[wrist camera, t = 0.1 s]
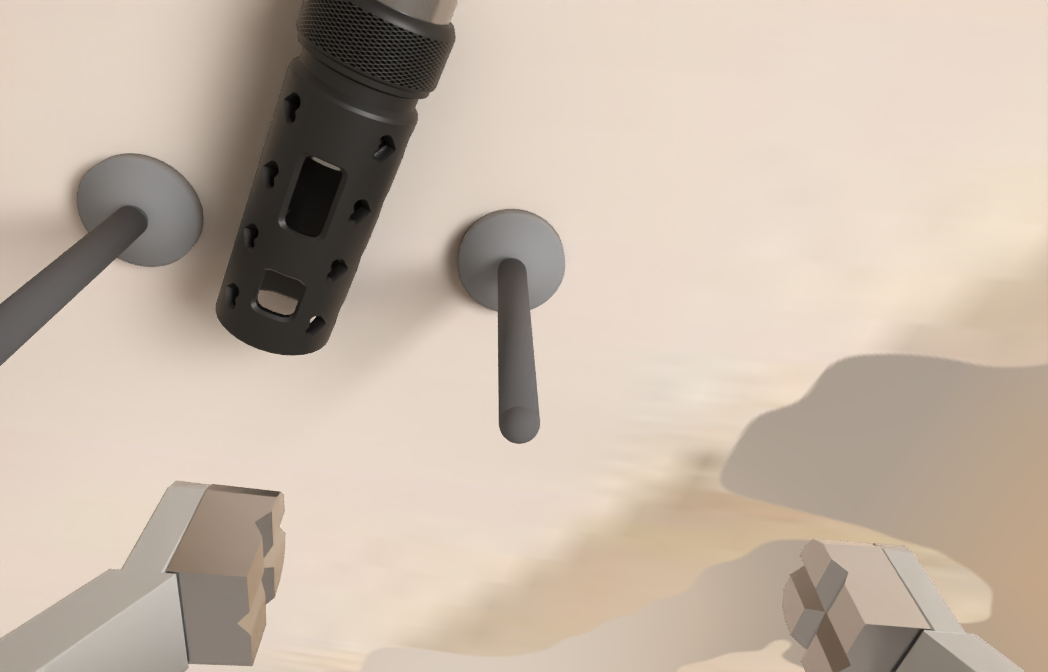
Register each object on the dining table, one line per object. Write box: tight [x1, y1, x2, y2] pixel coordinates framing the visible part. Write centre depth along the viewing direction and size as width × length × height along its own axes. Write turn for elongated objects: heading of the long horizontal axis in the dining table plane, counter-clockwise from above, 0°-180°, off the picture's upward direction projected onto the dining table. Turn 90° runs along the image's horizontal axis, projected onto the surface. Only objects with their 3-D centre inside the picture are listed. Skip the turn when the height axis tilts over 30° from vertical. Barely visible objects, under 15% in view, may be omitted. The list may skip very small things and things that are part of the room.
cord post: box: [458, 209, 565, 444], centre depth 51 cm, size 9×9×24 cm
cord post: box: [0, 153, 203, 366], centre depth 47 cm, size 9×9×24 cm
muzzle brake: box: [216, 0, 457, 355], centre depth 51 cm, size 10×28×10 cm, turn 154°
